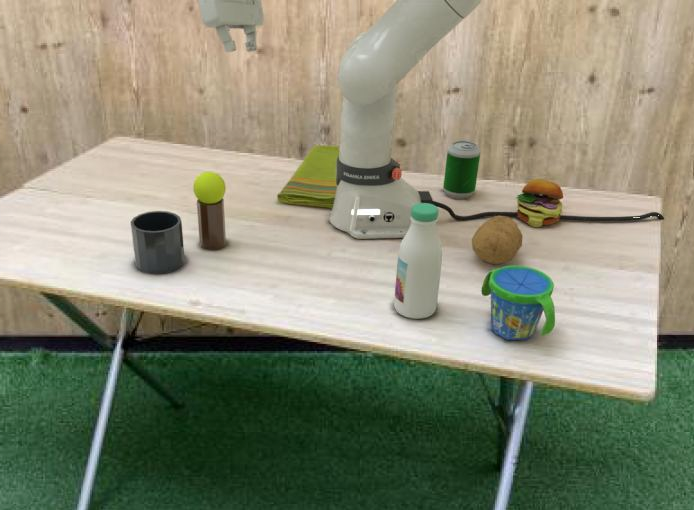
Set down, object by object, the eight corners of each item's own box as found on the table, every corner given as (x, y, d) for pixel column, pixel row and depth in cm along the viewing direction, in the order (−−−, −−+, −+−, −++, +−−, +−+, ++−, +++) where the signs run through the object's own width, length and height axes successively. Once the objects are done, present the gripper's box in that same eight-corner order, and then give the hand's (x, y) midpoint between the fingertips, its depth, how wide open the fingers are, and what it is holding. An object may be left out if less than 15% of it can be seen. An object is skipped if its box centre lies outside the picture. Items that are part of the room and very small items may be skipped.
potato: (522, 247, 164) (529, 212, 160) (514, 278, 153) (521, 241, 149) (476, 239, 167) (481, 205, 163) (464, 269, 156) (469, 233, 151)
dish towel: (276, 203, 181) (276, 190, 179) (312, 150, 210) (312, 138, 208) (341, 210, 178) (342, 197, 176) (368, 156, 207) (369, 144, 205)
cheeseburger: (509, 224, 173) (518, 178, 170) (516, 216, 183) (523, 173, 179) (557, 231, 170) (566, 185, 166) (560, 223, 179) (569, 179, 176)
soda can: (476, 200, 184) (483, 151, 177) (444, 200, 184) (450, 150, 177) (471, 187, 190) (478, 139, 184) (440, 187, 190) (446, 139, 184)
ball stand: (227, 239, 166) (225, 195, 160) (222, 251, 161) (220, 206, 156) (203, 237, 166) (200, 193, 161) (197, 249, 162) (194, 204, 156)
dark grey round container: (189, 252, 161) (186, 212, 156) (177, 275, 153) (173, 233, 148) (143, 249, 162) (139, 209, 157) (129, 272, 154) (124, 230, 149)
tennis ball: (229, 197, 161) (227, 167, 158) (222, 210, 156) (221, 179, 152) (198, 195, 162) (196, 165, 158) (191, 208, 156) (188, 178, 153)
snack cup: (565, 347, 134) (577, 295, 128) (514, 361, 130) (524, 308, 124) (510, 303, 145) (519, 254, 140) (462, 314, 142) (469, 265, 136)
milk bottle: (441, 303, 145) (453, 203, 134) (428, 324, 139) (440, 220, 128) (401, 294, 148) (410, 195, 137) (387, 313, 142) (395, 212, 131)
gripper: (211, -33, 140) (231, 47, 144) (260, -25, 158) (277, 46, 162) (182, -22, 143) (202, 56, 147) (233, -15, 161) (250, 54, 164)
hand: (242, 51), depth 154 cm, fingers open, 8 cm apart
